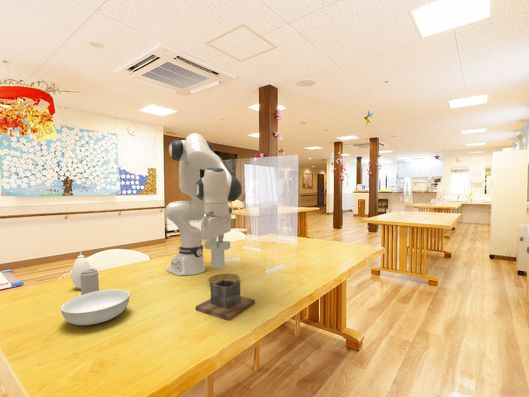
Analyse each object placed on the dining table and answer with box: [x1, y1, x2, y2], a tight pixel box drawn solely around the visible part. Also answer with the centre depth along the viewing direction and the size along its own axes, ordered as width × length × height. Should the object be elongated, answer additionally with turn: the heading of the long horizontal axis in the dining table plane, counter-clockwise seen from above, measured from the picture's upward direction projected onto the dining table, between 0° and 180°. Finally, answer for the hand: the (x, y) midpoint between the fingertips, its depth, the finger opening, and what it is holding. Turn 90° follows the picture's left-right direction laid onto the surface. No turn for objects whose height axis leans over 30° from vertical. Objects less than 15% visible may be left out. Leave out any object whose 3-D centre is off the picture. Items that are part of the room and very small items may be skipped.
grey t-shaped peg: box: [204, 240, 231, 269], centre depth 104 cm, size 9×3×10 cm, turn 76°
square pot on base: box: [195, 279, 256, 321], centre depth 105 cm, size 16×16×9 cm
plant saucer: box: [208, 273, 240, 285], centre depth 132 cm, size 15×15×3 cm
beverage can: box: [80, 268, 100, 296], centre depth 117 cm, size 6×6×12 cm
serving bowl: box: [60, 288, 131, 326], centre depth 98 cm, size 21×21×7 cm
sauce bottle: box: [71, 249, 92, 290], centre depth 129 cm, size 8×8×18 cm
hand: (217, 247), depth 104 cm, fingers closed on grey t-shaped peg, 3 cm apart
